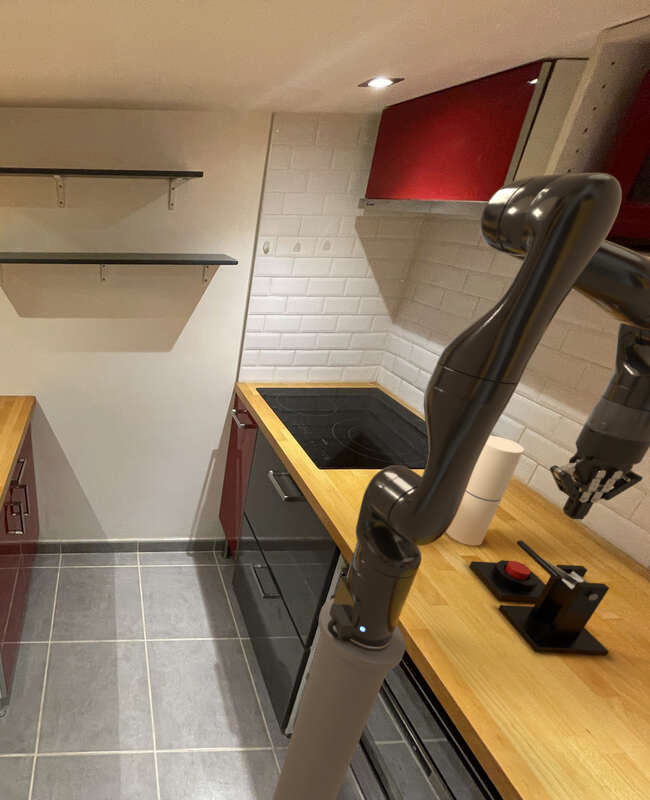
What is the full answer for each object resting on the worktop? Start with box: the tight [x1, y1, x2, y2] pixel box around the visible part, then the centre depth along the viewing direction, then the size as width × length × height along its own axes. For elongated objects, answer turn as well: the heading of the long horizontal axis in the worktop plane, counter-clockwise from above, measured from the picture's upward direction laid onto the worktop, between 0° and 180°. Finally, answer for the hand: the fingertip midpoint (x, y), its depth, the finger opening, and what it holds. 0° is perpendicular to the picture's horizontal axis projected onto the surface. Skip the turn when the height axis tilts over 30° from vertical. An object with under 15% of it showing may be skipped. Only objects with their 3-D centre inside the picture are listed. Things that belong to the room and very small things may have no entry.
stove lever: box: [516, 539, 590, 590], centre depth 77 cm, size 12×8×2 cm
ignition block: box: [468, 559, 547, 604], centre depth 92 cm, size 11×9×4 cm
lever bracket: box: [498, 564, 610, 657], centre depth 79 cm, size 12×9×14 cm
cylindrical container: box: [445, 435, 525, 547], centre depth 101 cm, size 7×7×25 cm
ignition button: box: [505, 560, 532, 580], centre depth 91 cm, size 4×4×2 cm
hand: (572, 516), depth 77 cm, fingers closed
